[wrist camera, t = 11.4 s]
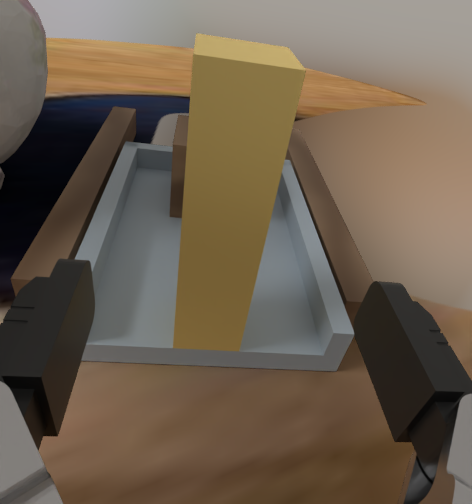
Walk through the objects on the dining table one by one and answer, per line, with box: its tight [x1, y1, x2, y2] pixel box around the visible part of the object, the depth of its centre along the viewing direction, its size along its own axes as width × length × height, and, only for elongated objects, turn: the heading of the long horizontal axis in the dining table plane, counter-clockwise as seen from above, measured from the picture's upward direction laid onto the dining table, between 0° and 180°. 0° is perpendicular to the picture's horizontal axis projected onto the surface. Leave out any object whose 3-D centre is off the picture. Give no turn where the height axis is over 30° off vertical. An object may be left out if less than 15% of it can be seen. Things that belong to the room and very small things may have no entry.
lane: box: [11, 107, 373, 331], centre depth 29 cm, size 18×24×2 cm
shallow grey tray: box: [75, 34, 354, 371], centre depth 21 cm, size 13×18×13 cm
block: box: [169, 115, 189, 218], centre depth 26 cm, size 5×5×5 cm
